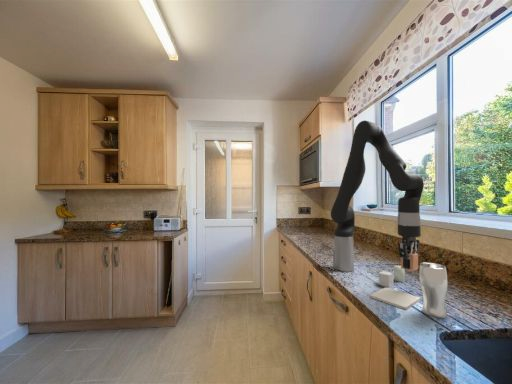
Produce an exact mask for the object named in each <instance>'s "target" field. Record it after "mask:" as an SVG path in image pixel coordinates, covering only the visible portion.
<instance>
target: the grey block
mask: <svg viewBox="0 0 512 384" xmlns="http://www.w3.org/2000/svg"><path fill="white" fill-rule="evenodd" d="M394 281H395V280H394V272H390V271H386V270H382V271H380V272H378V285H379V286H382V287H386V288H391V287H393V286H394V285H395V284H394V283H395V282H394Z"/></svg>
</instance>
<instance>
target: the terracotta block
mask: <svg viewBox="0 0 512 384" xmlns="http://www.w3.org/2000/svg"><path fill="white" fill-rule="evenodd" d="M400 266H401V268H402V269H405V268H403V258H401V257H400ZM418 269H419V253H418V254H417V253H412V254H410V269H405V270H407V271H410V272H416V271H417V270H418Z"/></svg>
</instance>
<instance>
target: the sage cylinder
mask: <svg viewBox="0 0 512 384" xmlns="http://www.w3.org/2000/svg"><path fill="white" fill-rule="evenodd" d="M405 270H406V269H402V268H401V265H393V280H394V281H396V282H398V283H404V282H406V275H405V274H406V271H405Z"/></svg>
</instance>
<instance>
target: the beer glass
mask: <svg viewBox="0 0 512 384" xmlns="http://www.w3.org/2000/svg"><path fill="white" fill-rule="evenodd" d="M447 273H448V272H447V267H446V266H445V265H442V264H439V263H434V262H420V263H419V285H420V288H421V292H422V296H423V305H422V312H423V313H424V314H426V315H428V316H430V317H432V318H437V319H445V318H447V317H448V314H447V313H448V312H447V309H446V298H447V297H446V296H447V292H448V274H447Z"/></svg>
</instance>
